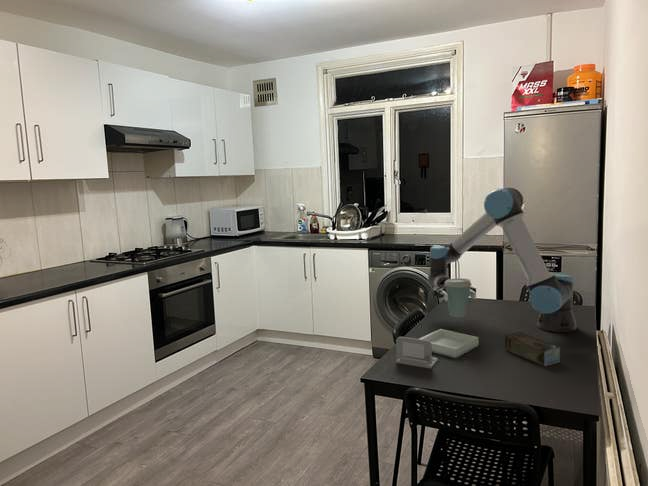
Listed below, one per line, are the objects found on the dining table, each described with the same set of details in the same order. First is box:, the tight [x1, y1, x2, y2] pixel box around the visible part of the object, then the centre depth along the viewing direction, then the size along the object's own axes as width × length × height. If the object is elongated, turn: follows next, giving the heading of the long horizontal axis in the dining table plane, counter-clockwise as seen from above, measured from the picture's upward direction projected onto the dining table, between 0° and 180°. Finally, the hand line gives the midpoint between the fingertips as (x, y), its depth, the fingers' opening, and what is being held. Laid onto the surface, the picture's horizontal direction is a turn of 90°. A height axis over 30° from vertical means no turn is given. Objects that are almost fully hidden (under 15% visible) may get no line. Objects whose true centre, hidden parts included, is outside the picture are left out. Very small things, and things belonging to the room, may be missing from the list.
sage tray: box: [419, 328, 480, 359], centre depth 194 cm, size 17×17×4 cm
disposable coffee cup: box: [445, 277, 472, 318], centre depth 203 cm, size 11×11×15 cm
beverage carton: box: [504, 331, 561, 367], centre depth 182 cm, size 8×19×7 cm, turn 24°
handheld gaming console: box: [395, 336, 439, 370], centre depth 180 cm, size 13×9×10 cm
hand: (461, 296), depth 199 cm, fingers closed on disposable coffee cup, 11 cm apart
